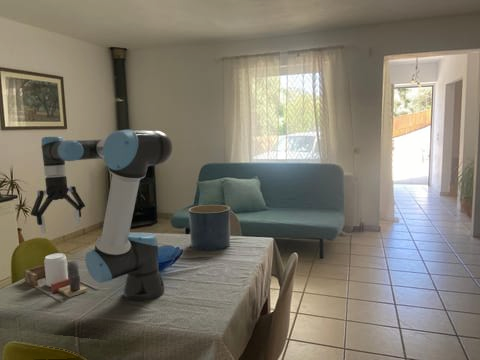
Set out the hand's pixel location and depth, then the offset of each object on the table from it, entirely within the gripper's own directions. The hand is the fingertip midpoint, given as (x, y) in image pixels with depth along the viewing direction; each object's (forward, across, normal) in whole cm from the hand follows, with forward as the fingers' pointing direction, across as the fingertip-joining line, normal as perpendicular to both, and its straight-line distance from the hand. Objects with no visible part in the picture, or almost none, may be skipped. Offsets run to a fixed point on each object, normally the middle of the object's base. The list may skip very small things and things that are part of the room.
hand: (61, 229), depth 146 cm
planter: (+24, -75, +9) cm, 79 cm away
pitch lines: (+24, +1, +2) cm, 24 cm away
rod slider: (+24, +1, +6) cm, 25 cm away
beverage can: (+24, +1, -6) cm, 25 cm away
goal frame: (+23, +1, -15) cm, 28 cm away
